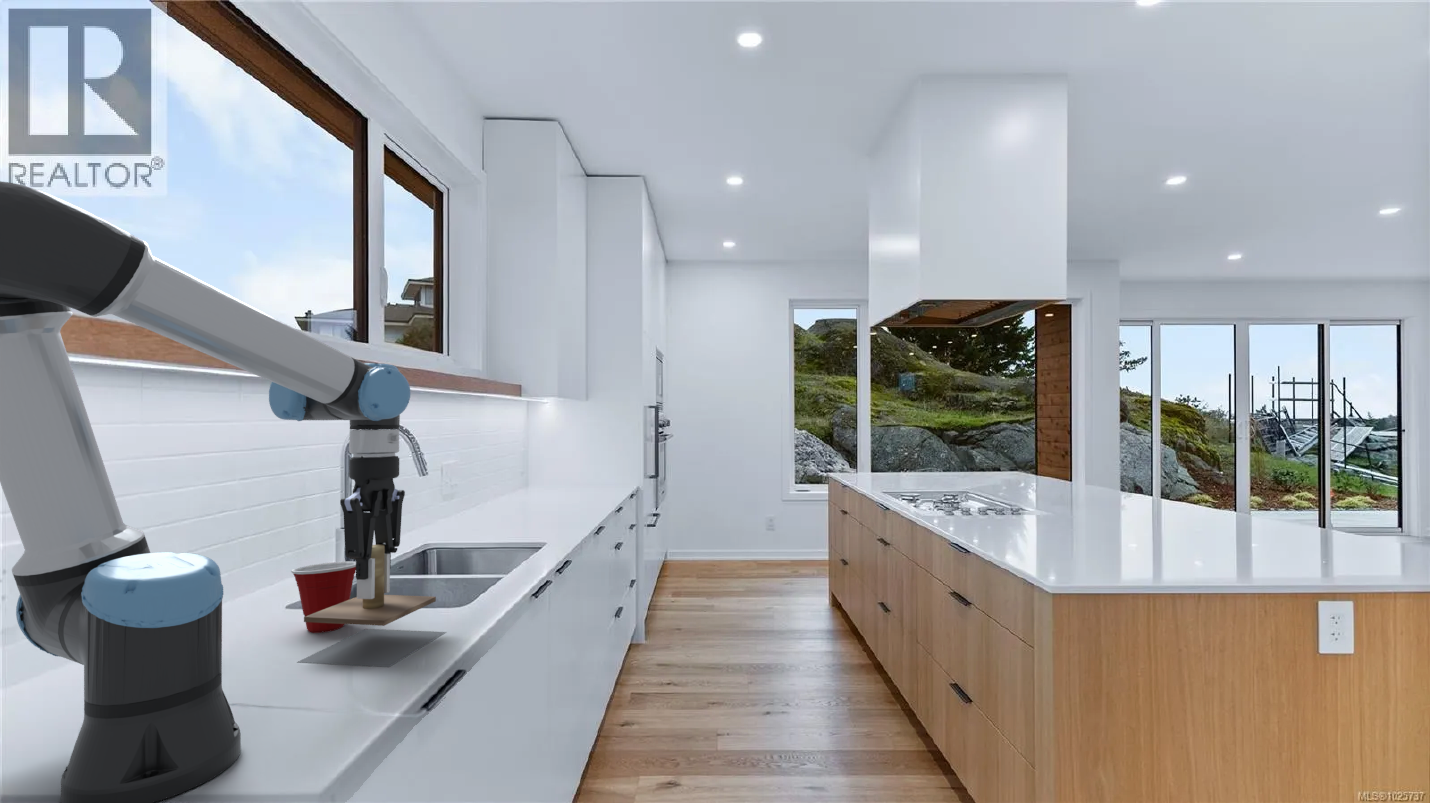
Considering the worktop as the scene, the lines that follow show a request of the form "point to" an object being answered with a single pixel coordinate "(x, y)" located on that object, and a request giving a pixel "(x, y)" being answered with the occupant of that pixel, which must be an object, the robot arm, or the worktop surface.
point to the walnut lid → (372, 603)
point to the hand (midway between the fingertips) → (373, 594)
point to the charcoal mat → (373, 648)
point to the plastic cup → (324, 589)
